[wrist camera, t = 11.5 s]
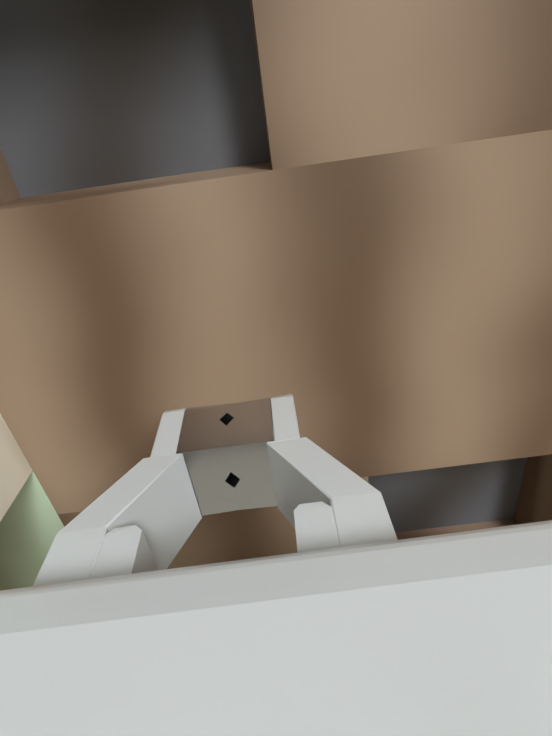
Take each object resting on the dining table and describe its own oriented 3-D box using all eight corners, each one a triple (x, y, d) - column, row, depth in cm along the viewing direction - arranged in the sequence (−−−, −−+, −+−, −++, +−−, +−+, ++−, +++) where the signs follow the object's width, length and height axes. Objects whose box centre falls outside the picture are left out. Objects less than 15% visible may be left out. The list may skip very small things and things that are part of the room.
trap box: (-26, 589, 21) (-82, 682, 18) (-582, -90, 9) (-1104, -217, 6) (549, 522, 20) (610, 606, 17) (799, -334, 8) (1199, -665, 5)
